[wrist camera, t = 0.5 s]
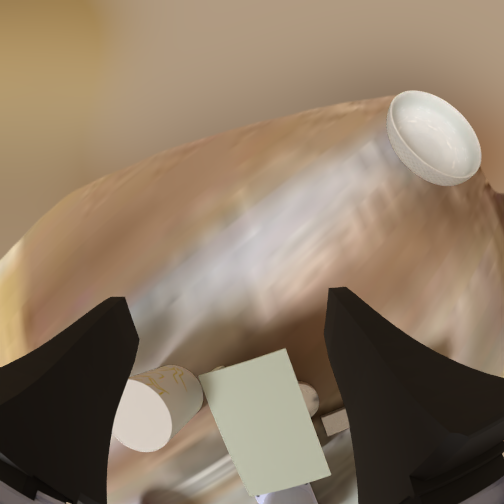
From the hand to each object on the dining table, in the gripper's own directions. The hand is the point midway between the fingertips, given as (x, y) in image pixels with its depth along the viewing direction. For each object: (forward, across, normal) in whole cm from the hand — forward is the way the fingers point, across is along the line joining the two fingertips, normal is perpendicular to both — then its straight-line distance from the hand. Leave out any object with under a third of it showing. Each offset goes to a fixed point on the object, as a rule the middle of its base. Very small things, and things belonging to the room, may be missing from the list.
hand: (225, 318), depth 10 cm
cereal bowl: (+35, -30, -2) cm, 46 cm away
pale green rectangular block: (+13, -2, +27) cm, 30 cm away
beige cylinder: (+16, +11, +26) cm, 32 cm away
